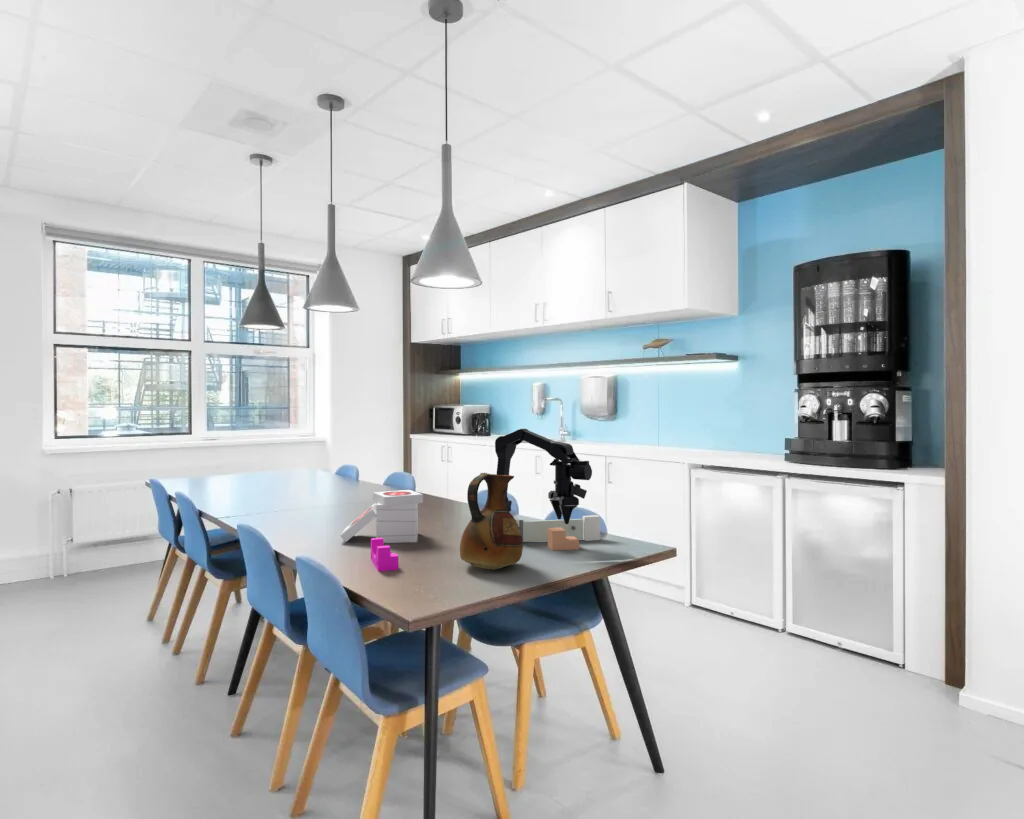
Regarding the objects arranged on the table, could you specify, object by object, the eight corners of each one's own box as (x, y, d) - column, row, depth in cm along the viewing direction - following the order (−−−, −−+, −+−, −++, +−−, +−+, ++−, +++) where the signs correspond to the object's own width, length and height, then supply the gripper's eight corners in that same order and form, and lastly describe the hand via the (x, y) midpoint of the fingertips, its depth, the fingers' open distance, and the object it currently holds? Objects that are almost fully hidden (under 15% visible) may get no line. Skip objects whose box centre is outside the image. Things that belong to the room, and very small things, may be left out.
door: (520, 542, 228) (520, 521, 228) (518, 541, 231) (518, 520, 231) (584, 539, 233) (584, 518, 233) (581, 538, 236) (581, 517, 236)
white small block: (514, 544, 228) (514, 519, 228) (513, 542, 231) (513, 518, 231) (600, 540, 235) (600, 516, 235) (597, 538, 238) (597, 515, 238)
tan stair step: (552, 550, 218) (552, 531, 218) (547, 547, 224) (547, 527, 224) (579, 549, 220) (579, 530, 220) (574, 545, 226) (574, 526, 226)
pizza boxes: (346, 536, 242) (346, 490, 242) (423, 534, 246) (423, 489, 246) (339, 547, 223) (338, 497, 223) (422, 545, 227) (422, 496, 227)
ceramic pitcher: (535, 566, 196) (535, 472, 196) (488, 578, 182) (488, 477, 182) (493, 555, 210) (493, 468, 210) (447, 566, 196) (447, 472, 196)
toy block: (398, 570, 192) (398, 546, 192) (378, 572, 190) (378, 548, 190) (389, 559, 206) (389, 537, 206) (370, 561, 204) (370, 538, 204)
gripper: (593, 480, 215) (593, 525, 215) (576, 475, 233) (576, 516, 233) (562, 481, 212) (562, 526, 212) (547, 475, 231) (547, 517, 231)
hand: (563, 521), depth 222 cm, fingers open, 9 cm apart
